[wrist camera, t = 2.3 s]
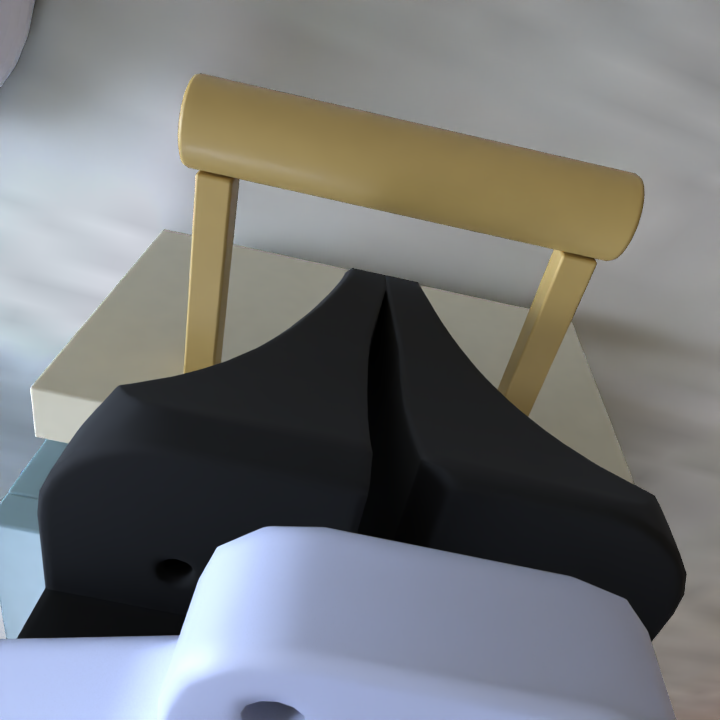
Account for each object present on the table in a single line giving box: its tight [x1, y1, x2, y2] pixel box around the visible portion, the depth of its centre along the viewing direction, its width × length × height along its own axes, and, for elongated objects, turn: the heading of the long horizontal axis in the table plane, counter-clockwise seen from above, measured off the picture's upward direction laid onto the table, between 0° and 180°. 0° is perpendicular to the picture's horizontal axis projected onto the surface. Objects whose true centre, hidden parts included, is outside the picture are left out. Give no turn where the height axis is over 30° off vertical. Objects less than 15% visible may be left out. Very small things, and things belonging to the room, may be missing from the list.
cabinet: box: [0, 439, 68, 639], centre depth 21 cm, size 17×13×9 cm
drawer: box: [30, 73, 644, 485], centre depth 18 cm, size 21×11×7 cm, turn 168°
